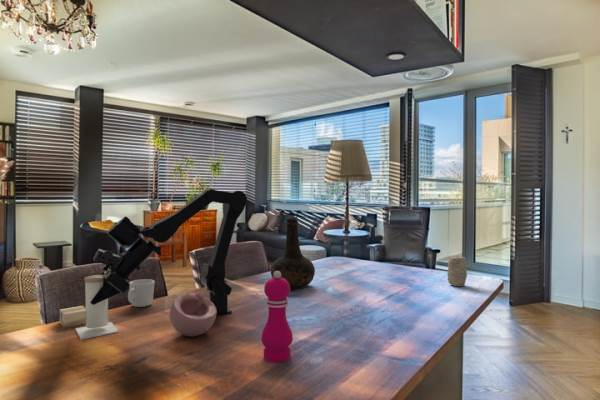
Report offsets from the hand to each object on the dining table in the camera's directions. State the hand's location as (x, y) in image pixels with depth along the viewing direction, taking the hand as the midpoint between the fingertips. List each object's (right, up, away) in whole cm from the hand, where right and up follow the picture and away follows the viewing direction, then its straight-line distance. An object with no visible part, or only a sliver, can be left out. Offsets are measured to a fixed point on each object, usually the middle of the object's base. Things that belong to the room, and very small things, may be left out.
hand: (91, 301), depth 105 cm
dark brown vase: (+54, -8, +52) cm, 75 cm away
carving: (+122, -8, +55) cm, 134 cm away
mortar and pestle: (+28, -9, -2) cm, 30 cm away
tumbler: (+1, -7, +1) cm, 7 cm away
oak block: (-9, -8, +7) cm, 15 cm away
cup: (+3, -8, +24) cm, 26 cm away
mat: (+1, -8, +1) cm, 8 cm away
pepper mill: (+51, -9, -15) cm, 54 cm away
